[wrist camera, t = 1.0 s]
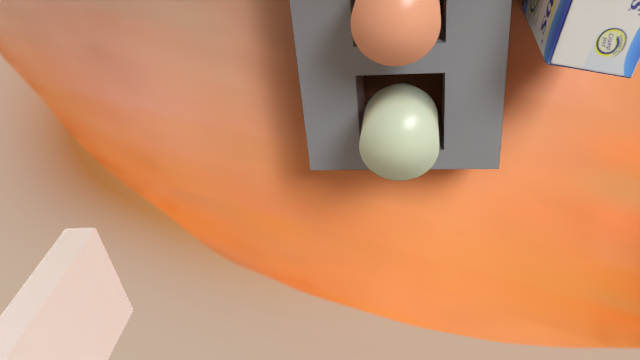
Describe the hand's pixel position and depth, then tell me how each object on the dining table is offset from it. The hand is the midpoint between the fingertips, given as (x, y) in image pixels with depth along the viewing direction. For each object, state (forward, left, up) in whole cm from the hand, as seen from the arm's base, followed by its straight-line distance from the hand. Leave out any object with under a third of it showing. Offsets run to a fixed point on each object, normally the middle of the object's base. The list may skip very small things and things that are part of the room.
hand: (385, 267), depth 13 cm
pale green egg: (+8, -1, -25) cm, 26 cm away
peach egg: (+1, -1, -25) cm, 25 cm away
